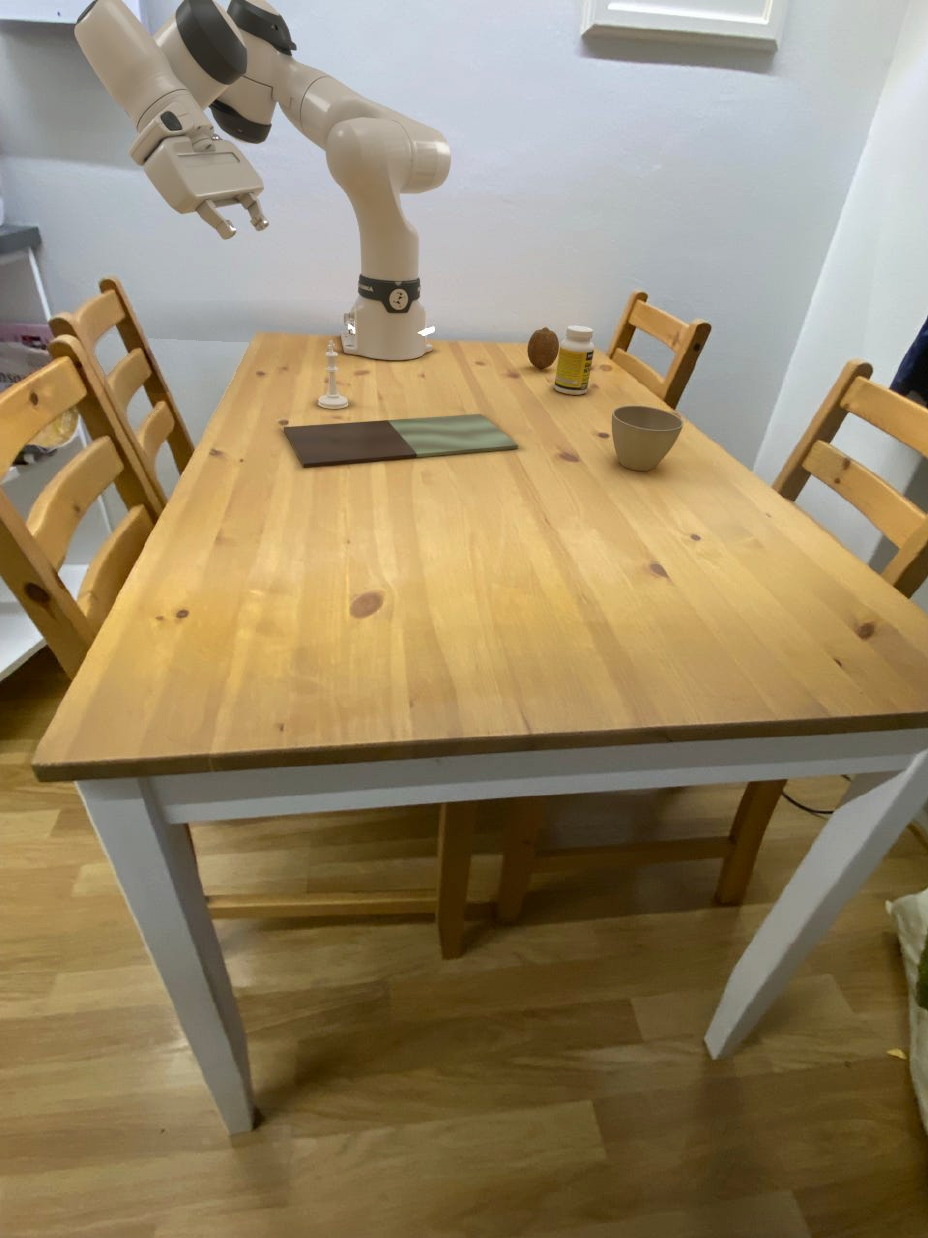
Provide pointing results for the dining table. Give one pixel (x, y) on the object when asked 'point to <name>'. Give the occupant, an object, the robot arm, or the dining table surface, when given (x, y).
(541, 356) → the fruit
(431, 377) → the dining table surface
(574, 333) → the pill bottle
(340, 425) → the mat
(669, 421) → the flower pot
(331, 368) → the chess piece
